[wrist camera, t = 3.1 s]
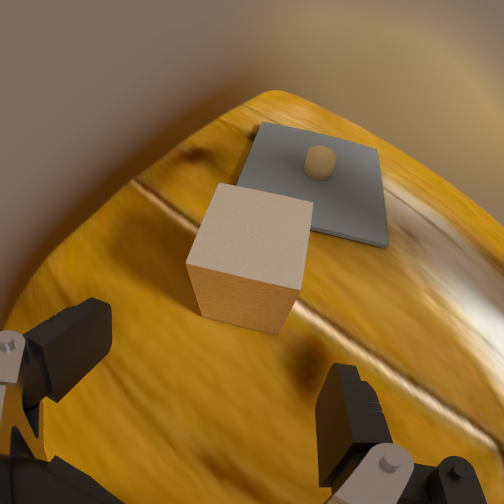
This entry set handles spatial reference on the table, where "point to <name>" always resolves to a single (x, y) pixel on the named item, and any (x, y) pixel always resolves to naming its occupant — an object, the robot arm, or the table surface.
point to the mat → (321, 180)
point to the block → (250, 257)
